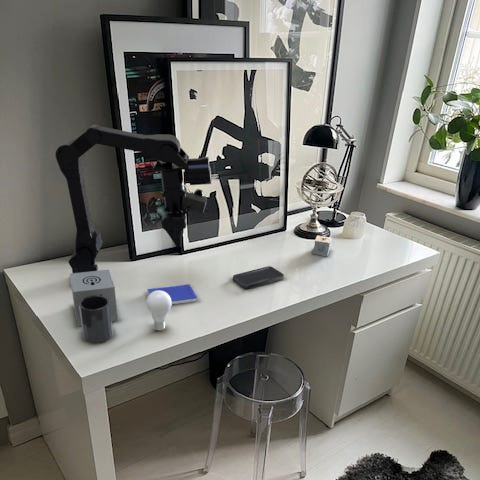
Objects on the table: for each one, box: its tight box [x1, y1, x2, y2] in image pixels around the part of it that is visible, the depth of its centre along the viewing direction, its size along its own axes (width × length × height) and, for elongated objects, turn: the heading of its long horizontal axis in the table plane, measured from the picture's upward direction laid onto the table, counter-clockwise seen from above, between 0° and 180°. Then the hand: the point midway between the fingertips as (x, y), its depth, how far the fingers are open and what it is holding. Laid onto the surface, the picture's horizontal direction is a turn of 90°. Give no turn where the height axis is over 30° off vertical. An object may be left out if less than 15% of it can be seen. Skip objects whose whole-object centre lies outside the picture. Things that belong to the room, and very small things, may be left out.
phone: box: [232, 265, 285, 290], centre depth 155 cm, size 8×1×15 cm
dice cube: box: [312, 234, 332, 257], centre depth 174 cm, size 5×5×5 cm
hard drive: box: [146, 283, 198, 305], centre depth 142 cm, size 2×8×12 cm
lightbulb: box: [145, 290, 173, 331], centre depth 125 cm, size 6×6×11 cm
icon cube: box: [69, 269, 118, 327], centre depth 130 cm, size 10×10×10 cm
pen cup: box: [79, 295, 113, 344], centre depth 122 cm, size 7×7×10 cm
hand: (180, 240), depth 141 cm, fingers open, 9 cm apart
